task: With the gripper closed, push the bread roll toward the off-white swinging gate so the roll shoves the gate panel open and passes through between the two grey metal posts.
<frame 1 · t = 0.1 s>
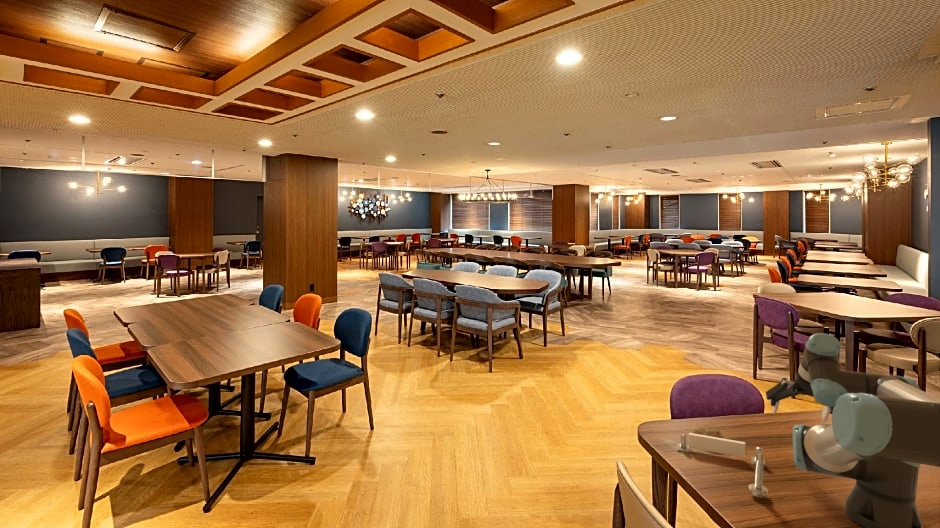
hand: (798, 414, 152), 15 cm above the table, tool tilted 35°, fingers open, 13 cm apart
gate: (716, 444, 156), point 3 cm above the table, hinge at 0.0°
screw: (757, 496, 134), on the table
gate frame: (719, 455, 156), on the table
bread roll: (708, 443, 165), on the table
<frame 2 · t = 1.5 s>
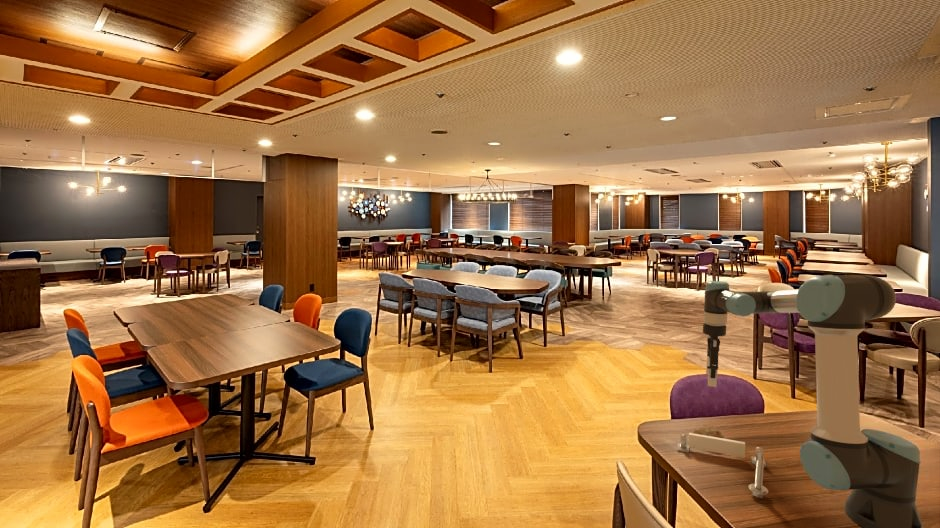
hand: (710, 380, 172), 19 cm above the table, tool pointing down, fingers open, 13 cm apart
nothing on the table moved.
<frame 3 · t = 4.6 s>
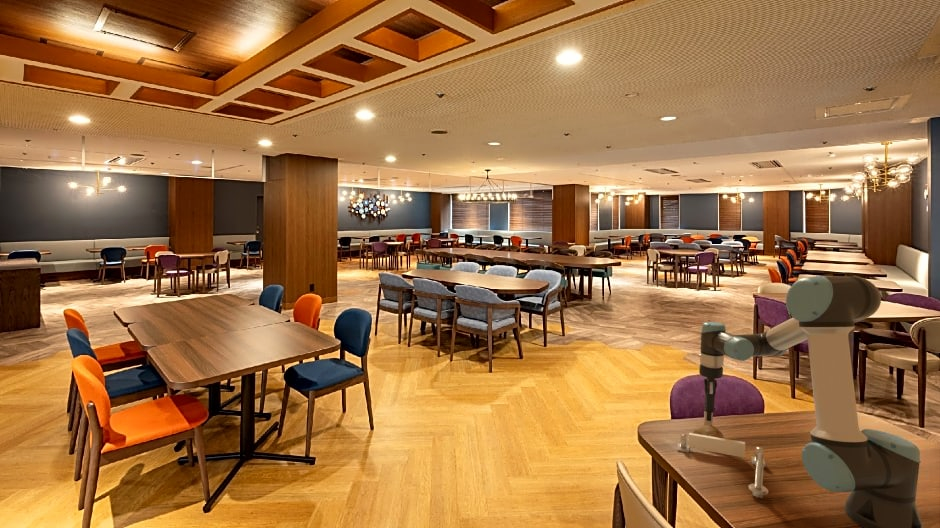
hand: (707, 427, 170), 3 cm above the table, tool pointing down, fingers closed
bread roll: (707, 442, 166), on the table, touching gripper
everything else where it was.
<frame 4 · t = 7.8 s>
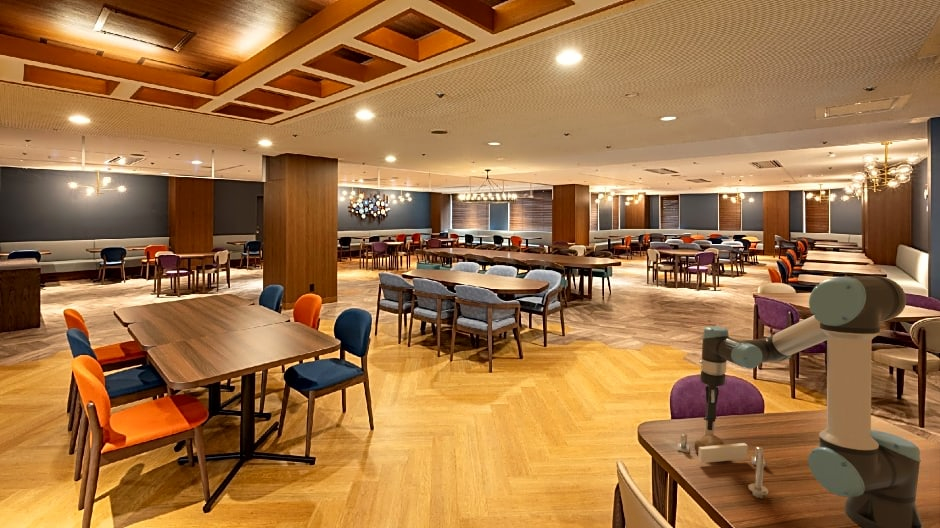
hand: (708, 437, 162), 3 cm above the table, tool pointing down, fingers closed
gate: (722, 452, 151), point 3 cm above the table, hinge at 33.9°, touching bread roll
bread roll: (710, 453, 157), on the table, touching gate, gripper
everything else where it was.
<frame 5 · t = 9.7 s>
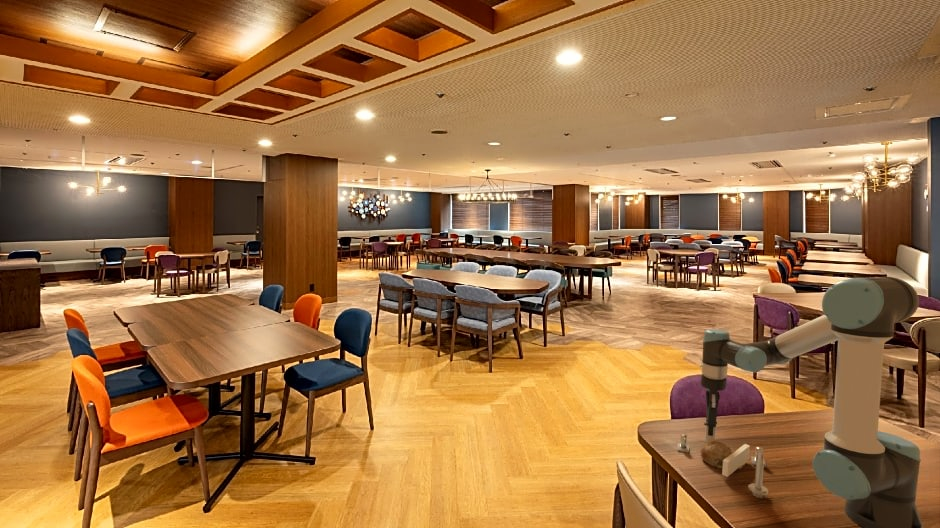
hand: (709, 443, 158), 3 cm above the table, tool pointing down, fingers closed
gate: (736, 459, 146), point 3 cm above the table, hinge at 63.1°, touching bread roll
bread roll: (716, 461, 152), on the table, touching gate, gripper
everything else where it was.
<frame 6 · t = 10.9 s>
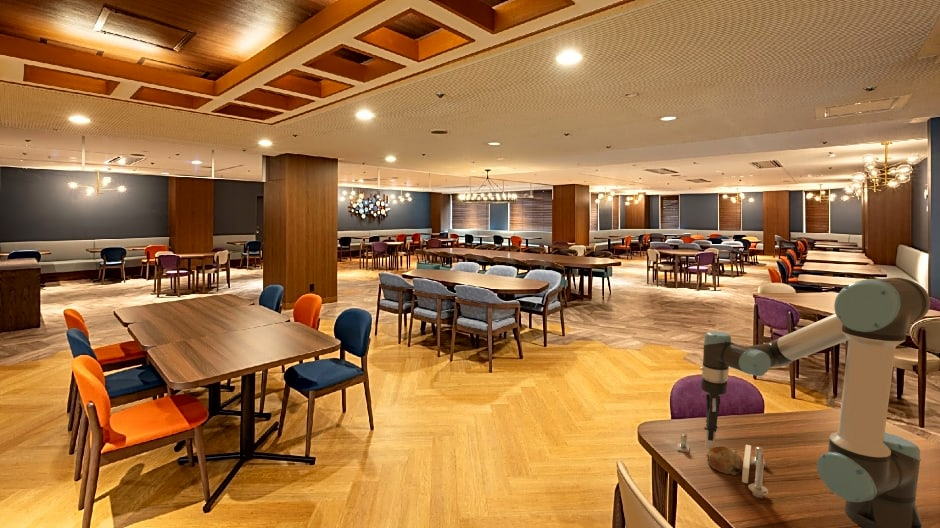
hand: (709, 447, 155), 3 cm above the table, tool pointing down, fingers closed
gate: (746, 462, 145), point 3 cm above the table, hinge at 80.6°, touching bread roll
bread roll: (723, 467, 149), on the table, touching gate, gripper
everything else where it was.
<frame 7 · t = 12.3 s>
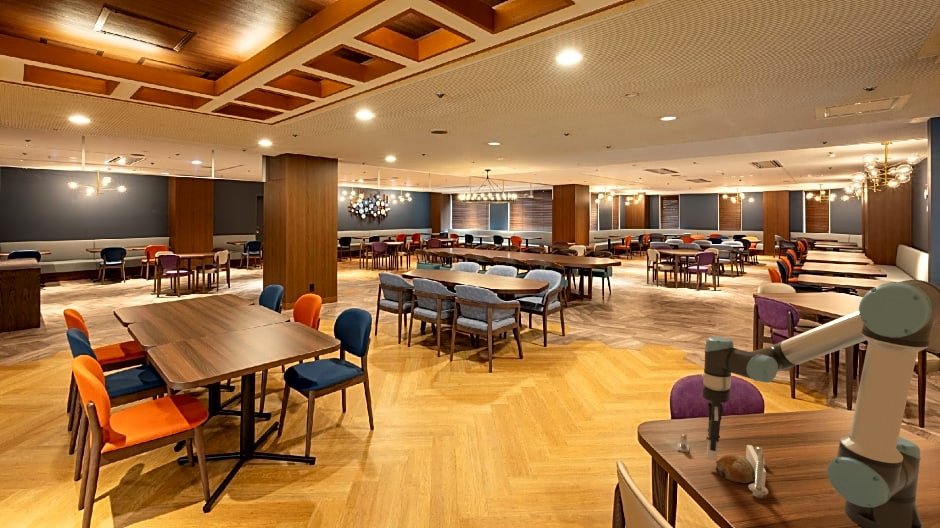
hand: (711, 458, 148), 3 cm above the table, tool pointing down, fingers closed
gate: (755, 464, 144), point 3 cm above the table, hinge at 94.7°, touching bread roll
bread roll: (734, 475, 144), on the table, touching gate, gripper
everything else where it was.
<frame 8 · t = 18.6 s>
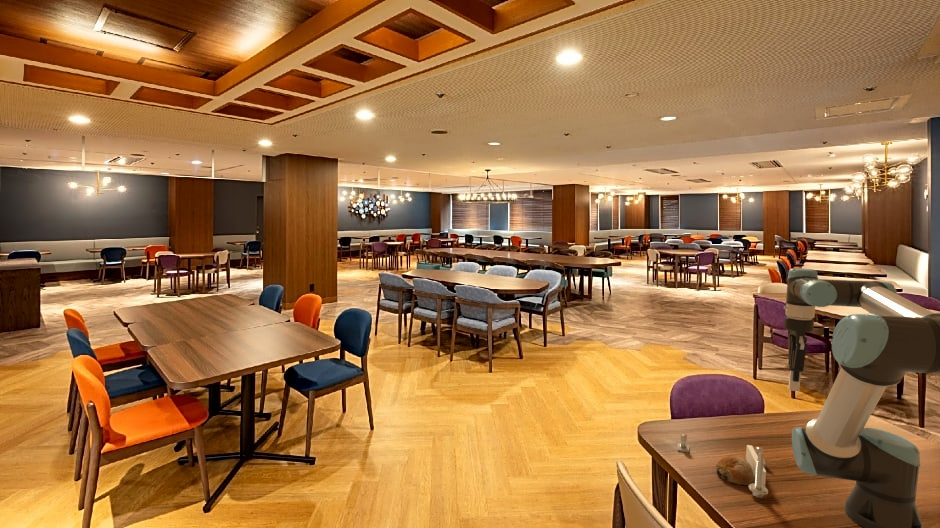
hand: (793, 390, 149), 24 cm above the table, tool pointing down, fingers closed
gate: (755, 464, 144), point 3 cm above the table, hinge at 94.9°
bread roll: (734, 477, 143), on the table
everything else where it was.
at the end: bread roll inside the target area (5.0 cm from its centre), on the table; gate at +95° (first picture: +0°) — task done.
